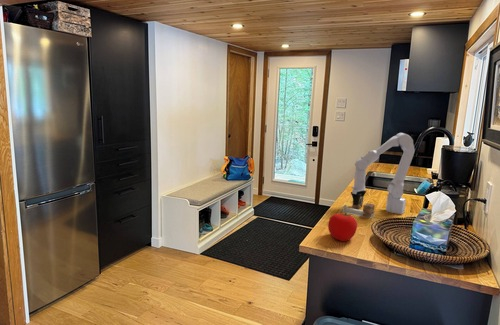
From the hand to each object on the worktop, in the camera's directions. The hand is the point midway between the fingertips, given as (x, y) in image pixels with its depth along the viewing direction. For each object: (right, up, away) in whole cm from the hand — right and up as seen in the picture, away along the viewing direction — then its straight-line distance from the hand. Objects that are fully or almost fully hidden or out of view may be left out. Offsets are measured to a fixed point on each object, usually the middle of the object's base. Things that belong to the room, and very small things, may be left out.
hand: (357, 203), depth 190 cm
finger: (+1, -5, -13) cm, 14 cm away
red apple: (-21, -10, -41) cm, 47 cm away
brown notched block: (0, -2, 0) cm, 2 cm away
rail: (-3, -5, -9) cm, 11 cm away
